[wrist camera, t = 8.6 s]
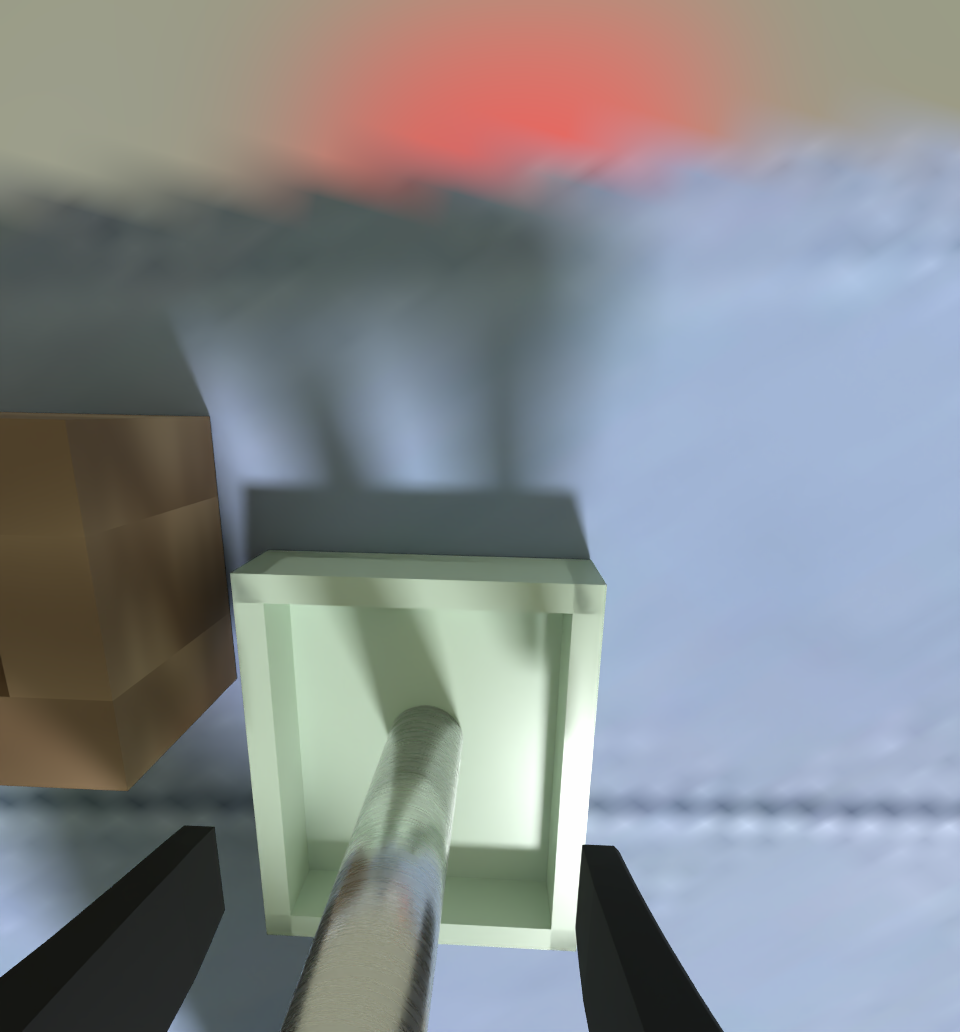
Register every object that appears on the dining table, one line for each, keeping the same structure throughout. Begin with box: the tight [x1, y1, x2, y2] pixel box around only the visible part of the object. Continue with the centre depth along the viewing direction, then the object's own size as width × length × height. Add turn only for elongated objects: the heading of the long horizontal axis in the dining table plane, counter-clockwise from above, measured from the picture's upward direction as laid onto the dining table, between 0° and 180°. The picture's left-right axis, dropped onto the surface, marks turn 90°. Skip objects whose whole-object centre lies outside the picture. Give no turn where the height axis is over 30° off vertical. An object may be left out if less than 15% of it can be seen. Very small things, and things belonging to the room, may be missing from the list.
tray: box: [230, 550, 607, 951], centre depth 12 cm, size 10×8×2 cm
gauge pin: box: [280, 705, 463, 1032], centre depth 9 cm, size 2×2×8 cm
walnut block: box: [0, 412, 237, 791], centre depth 11 cm, size 7×7×4 cm
